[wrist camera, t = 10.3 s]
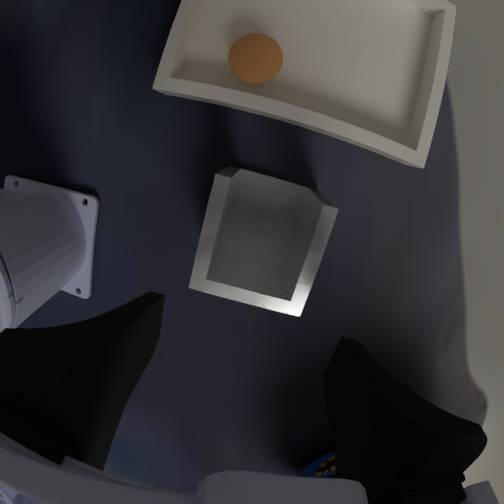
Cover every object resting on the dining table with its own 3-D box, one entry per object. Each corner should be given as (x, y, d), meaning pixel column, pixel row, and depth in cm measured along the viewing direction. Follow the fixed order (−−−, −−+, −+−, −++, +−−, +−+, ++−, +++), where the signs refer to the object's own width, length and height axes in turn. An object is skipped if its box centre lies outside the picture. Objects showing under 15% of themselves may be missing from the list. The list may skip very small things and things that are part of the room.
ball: (211, 73, 15) (237, 26, 13) (227, 61, 17) (250, 21, 15) (261, 99, 16) (290, 54, 14) (270, 85, 18) (296, 46, 16)
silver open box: (208, 248, 21) (189, 287, 15) (230, 165, 19) (215, 173, 14) (291, 271, 21) (299, 316, 16) (317, 190, 20) (338, 208, 14)
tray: (165, 94, 18) (152, 88, 16) (219, -53, 14) (214, -71, 12) (406, 165, 19) (423, 168, 16) (439, 16, 15) (456, 6, 13)
